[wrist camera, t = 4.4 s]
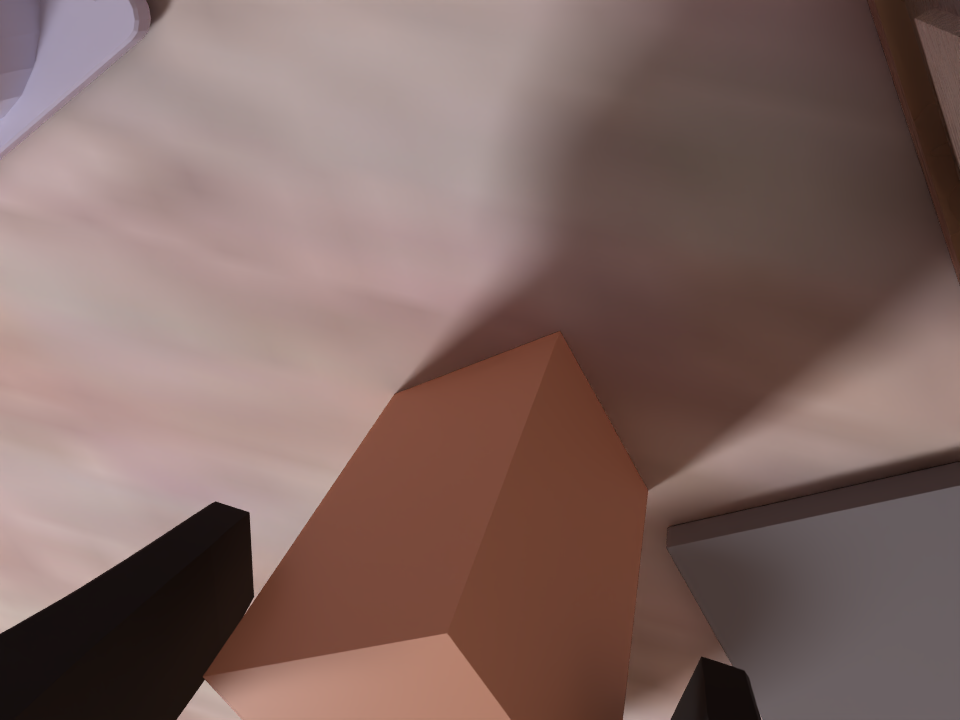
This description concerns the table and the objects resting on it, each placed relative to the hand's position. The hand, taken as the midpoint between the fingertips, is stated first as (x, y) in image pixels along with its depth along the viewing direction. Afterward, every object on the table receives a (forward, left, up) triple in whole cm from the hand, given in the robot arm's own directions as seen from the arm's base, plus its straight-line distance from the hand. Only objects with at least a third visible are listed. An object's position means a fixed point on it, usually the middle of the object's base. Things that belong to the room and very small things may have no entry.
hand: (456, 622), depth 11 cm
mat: (+7, +6, -5) cm, 10 cm away
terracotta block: (0, 0, -5) cm, 5 cm away
